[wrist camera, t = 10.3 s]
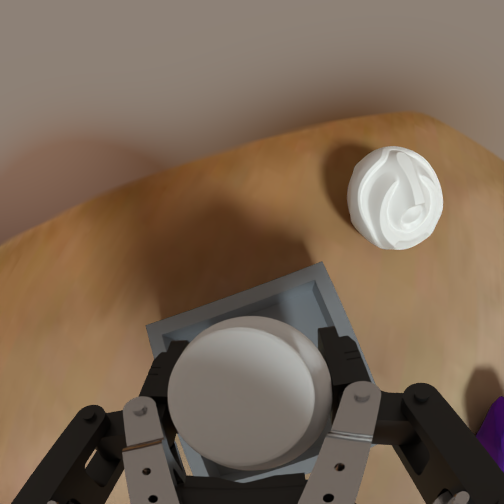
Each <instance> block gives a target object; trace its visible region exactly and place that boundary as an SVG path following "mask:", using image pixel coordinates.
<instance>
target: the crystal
mask: <svg viewBox="0 0 504 504" xmlns="http://www.w3.org/2000/svg"><path fill="white" fill-rule="evenodd" d="M476 438H477V439H478V440H479V442H480V443H481V444H482V445H483V447H484V448H485V449H486V450H487V452H488V453H489V454H490V456H491V457H492V458H493V459H494V461H495V462H496V463H497V465H498V466H499V467H500V469H501V470H502V471H503V472H504V397H502V396H501V397H499V398H498V399H497V400H496V401H495V402H494V403H493V404H492V406H491V407H490V409H489V411H488V413H487V415H486V418H485V420H484V422H483V424H482V426H481V427H480V429H479V431H478V433H477V435H476Z"/></svg>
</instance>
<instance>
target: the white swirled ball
mask: <svg viewBox="0 0 504 504" xmlns="http://www.w3.org/2000/svg"><path fill="white" fill-rule="evenodd" d="M347 203H348V209H349V212H350V217H351V222H352V224H353V225H354V227H355V228H356V229H357V231H358V232H359V233H360V234H361V235H362V236H363V237H364V238H366V239H367V240H368V241H369V242H371V243H372V244H374V245H375V246H377V247H379V248H382V249H395V250H403V249H408V248H411V247H413V246H415V245H417V244H419V243H420V242H422V241H423V240H425V239H426V238H428V237H429V236H430V235H431V234H432V232H433V230H434V228H435V226H436V224H437V222H438V220H439V218H440V216H441V213H442V209H443V196H442V191H441V187H440V183H439V180H438V178H437V175H436V173H435V171H434V170H433V168H432V167H431V165H430V164H429V163H428V161H427V160H426V159H424V158H423V157H422V156H421V155H419V154H418V153H416V152H414V151H412V150H409V149H406V148H403V147H397V146H389V147H383V148H379V149H377V150H374V151H372V152H371V153H369V154H368V155H366V156H365V157H364V158H363V159H362V160H361V161H360V162H358V163H357V164H356V166H355V167H354V170H353V174H352V176H351V179H350V182H349V185H348V191H347Z"/></svg>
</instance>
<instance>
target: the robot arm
mask: <svg viewBox="0 0 504 504" xmlns="http://www.w3.org/2000/svg"><path fill="white" fill-rule="evenodd" d="M188 344H189V341H188V340H178V341H171V342H170V345H169V347H168V350H167V352H161V353H160V354H159V355H158V356H157V357H156V358H155V359H154V361H153V363H152V366H151V369H150V370H149V373H148V375H147V377H146V380H145V382H144V385H143V387H142V390H141V392H140V394H139V397H136V398H134V399H132V400H130V401H129V402H127V403H126V405H125V406H124V408H123V410H121V411H116V412H111V413H105V411H104V409H103V408H102V407H100V406H98V405H89V406H86V407H84V408H82V409H81V410H80V411H79V412H78V413H77V414H76V416H75V417H74V418H73V420H72V421H71V422H70V424H69V425H68V426H67V428H66V429H65V430H64V432H63V433H62V434H61V436H60V437H59V438H58V440H57V441H56V442H55V444H54V445H53V446H52V448H51V449H50V450H49V452H48V453H47V454H46V456H45V457H44V458H43V460H42V461H41V462H40V464H39V465H38V467H37V468H36V469H35V471H34V472H33V474H32V475H31V476H30V478H29V479H28V480H27V482H26V483H25V485H24V486H23V488H22V489H21V490H20V492H19V493H18V495H17V496H16V497H15V499H14V500H13V502H12V503H11V504H105V502H106V500H107V499H108V497H109V495H110V493H111V492H112V490H113V488H114V486H115V484H116V483H117V481H118V479H119V477H120V476H121V474H122V472H123V470H124V469H125V475H126V481H127V487H128V493H129V498H130V503H131V504H356V503H355V500H356V497H357V494H358V491H359V487H360V484H361V481H362V477H363V474H364V470H365V466H366V463H367V459H368V455H369V451H370V447H371V444H383V445H392V446H393V448H394V450H395V451H396V453H397V455H398V456H399V458H400V460H401V461H402V463H403V465H404V467H405V468H406V470H407V472H408V473H409V475H410V477H411V478H412V480H413V482H414V484H415V485H416V487H417V489H418V490H419V492H420V494H421V496H422V497H423V499H424V501H425V502H426V504H504V472H503V471H502V470H501V469H500V467H499V466H498V465H497V463H496V462H495V461H494V459H493V458H492V457H491V456H490V454H489V453H488V452H487V450H486V449H485V448H484V447H483V445H482V444H481V443H480V442H479V440H478V439H477V438H476V437H475V435H474V434H473V433H472V432H471V430H470V429H469V428H468V427H467V425H466V424H465V423H464V422H463V421H462V419H461V418H460V417H459V416H458V415H457V413H456V412H455V411H454V410H453V408H452V407H451V406H450V405H449V404H448V403H447V401H446V400H445V399H444V398H443V397H442V395H441V394H440V393H439V392H438V391H437V390H436V388H434V387H433V386H431V385H429V384H426V383H416V384H412V385H410V386H409V387H407V388H406V390H405V391H404V393H388V392H384V391H381V390H380V389H379V387H378V386H377V385H375V384H373V383H372V382H371V380H370V377H369V375H368V372H367V369H366V367H365V364H364V362H363V359H362V358H361V354H360V352H359V349H358V347H357V344H356V342H355V341H354V340H353V339H351V338H350V337H349V336H341V337H339V336H338V333H337V330H336V328H335V326H330V327H323V328H318V350H319V351H320V353H321V355H322V356H323V358H324V360H325V362H326V364H327V367H328V369H329V373H330V376H331V381H332V393H333V394H332V406H331V411H330V420H331V425H333V426H332V428H331V431H330V432H328V433H327V435H326V437H325V439H324V442H323V445H322V447H321V450H320V452H319V455H318V458H317V460H316V462H315V465H314V467H313V470H312V472H311V475H310V477H309V479H308V480H305V473H295V474H284V475H274V476H270V477H266V478H263V479H259V480H255V481H251V482H246V483H240V482H235V481H230V480H226V479H221V478H217V477H205V476H187V475H186V473H185V470H184V467H183V464H182V460H181V457H180V454H179V451H178V448H177V444H176V442H175V436H176V433H177V434H179V433H178V431H177V429H176V427H175V426H174V423H173V421H172V419H171V415H170V412H169V406H168V385H169V379H170V376H171V373H172V370H173V368H174V366H175V364H176V362H177V361H178V359H179V357H180V356H181V354H182V352H183V351H184V349H185V348H186V347H187V346H188ZM95 449H96V450H97V451H96V453H95V455H94V456H93V458H92V459H91V461H90V462H89V464H88V465H87V467H86V469H85V464H86V462H87V460H88V459H89V457H90V456H91V454H92V453H93V451H94V450H95Z"/></svg>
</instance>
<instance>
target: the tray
mask: <svg viewBox="0 0 504 504" xmlns="http://www.w3.org/2000/svg"><path fill="white" fill-rule="evenodd" d="M243 316H260V317H267V318H272V319H275V320H278V321H281V322H284V323H286V324H288V325H290V326H292V327H294V328H295V329H297V330H299V331H300V332H301V333H303V334H304V335H305V336H306V337H307V338H308V339H310V340H311V341H312V342H313V344H314V345H315V346H316V347H317V349H318V328H323V327H330V326H335V328H336V330H337V333H338V336H339V337H341V336H349V337H350V338H351V339H353V340H354V341H355V342H356V344H357V347H358V349H359V352H360V354H361V358H362V359H363V362H364V364H365V367H366V369H367V372H368V375H369V377H370V380H371V382H372V383H373V384H375V382H374V379H373V377H372V374H371V372H370V369H369V367H368V364H367V362H366V360H365V357H364V355H363V352H362V350H361V348H360V345H359V343H358V340H357V338H356V336H355V333H354V331H353V329H352V326H351V324H350V322H349V319H348V317H347V315H346V313H345V310H344V308H343V306H342V303H341V301H340V299H339V297H338V295H337V292H336V290H335V288H334V286H333V284H332V281H331V279H330V277H329V275H328V273H327V270H326V268H325V266H324V264H323V262H319V263H317V264H314V265H311V266H309V267H306V268H304V269H301V270H298V271H296V272H293V273H291V274H288V275H285V276H283V277H280V278H277V279H275V280H272V281H269V282H267V283H264V284H261V285H259V286H256V287H253V288H251V289H248V290H245V291H242V292H240V293H237V294H234V295H231V296H229V297H226V298H223V299H220V300H217V301H215V302H212V303H209V304H206V305H203V306H201V307H198V308H195V309H192V310H189V311H186V312H183V313H181V314H178V315H175V316H172V317H169V318H166V319H163V320H160V321H157V322H154V323H151V324H148V325H146V329H147V333H148V337H149V341H150V345H151V349H152V352H153V356H154V359H155V358H156V357H157V356H158V355H159V354H160V353H161V352H167V350H168V347H169V345H170V342H171V341H178V340H188V341H189V343H190V342H191V341H192V340H193V339H194V338H195V337H196V336H197V335H199V334H200V333H201V332H202V331H204V330H205V329H207V328H209V327H210V326H212V325H214V324H216V323H219V322H221V321H224V320H227V319H231V318H236V317H243ZM375 385H376V384H375ZM332 426H333V425H331V420H330V415H329V418H328V420H327V423H326V425H325V427H324V429H323V431H322V433H321V434H320V436H319V437H318V438H317V440H316V441H315V442H314V443H313V444H312V445H311V446H310V447H309V448H308V449H307V450H306V451H305V452H304V453H302V454H301V455H300V456H298V457H297V458H295V459H293V460H292V461H290V462H288V463H285V464H283V465H280V466H277V467H274V468H270V469H265V470H238V469H233V468H229V467H226V466H223V465H220V464H218V463H216V462H214V461H211V460H209V459H207V458H205V457H203V456H202V455H200V454H199V453H197V452H196V451H195V450H193V449H192V448H191V447H190V446H189V445H188V444H187V443H186V442H185V441H184V440H183V438H182V437H181V436H180V434H178V436H179V439H180V442H181V445H182V447H183V450H184V453H185V455H186V458H187V461H188V463H189V466H190V468H191V471H192V473H193V476H205V477H217V478H221V479H226V480H230V481H235V482H240V483H246V482H251V481H255V480H259V479H263V478H266V477H270V476H274V475H284V474H295V473H305V474H308V473H311V472H312V470H313V467H314V465H315V462H316V460H317V458H318V455H319V452H320V450H321V447H322V445H323V442H324V439H325V437H326V435H327V433H328V432H330V431H331V428H332ZM375 445H377V444H371V447H373V446H375ZM371 447H370V448H371Z"/></svg>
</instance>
